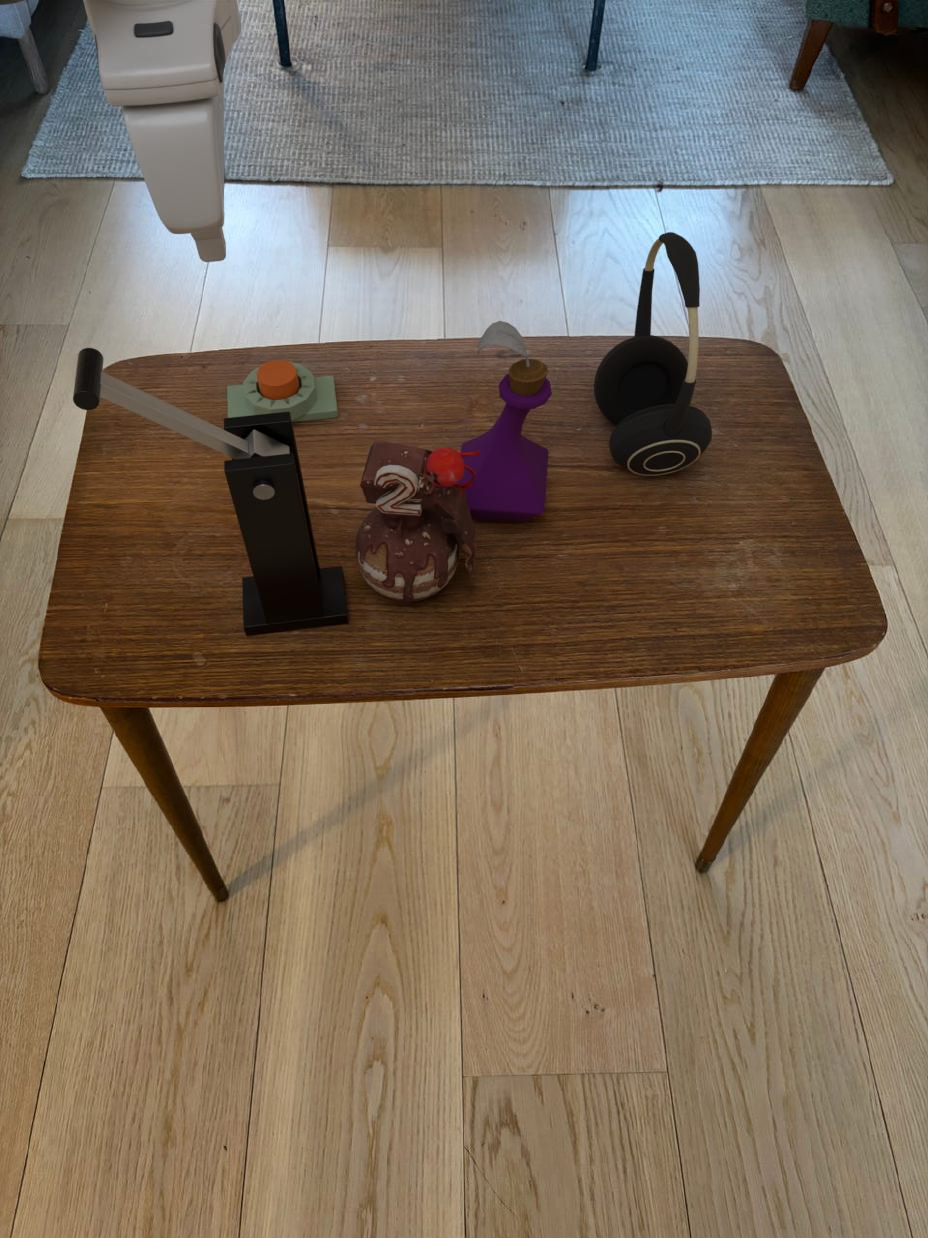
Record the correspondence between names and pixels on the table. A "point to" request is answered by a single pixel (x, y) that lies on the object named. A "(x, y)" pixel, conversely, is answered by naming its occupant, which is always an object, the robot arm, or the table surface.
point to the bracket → (280, 537)
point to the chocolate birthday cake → (414, 520)
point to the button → (278, 380)
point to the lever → (163, 411)
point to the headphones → (655, 380)
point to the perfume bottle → (509, 442)
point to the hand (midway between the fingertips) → (214, 216)
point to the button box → (305, 405)
